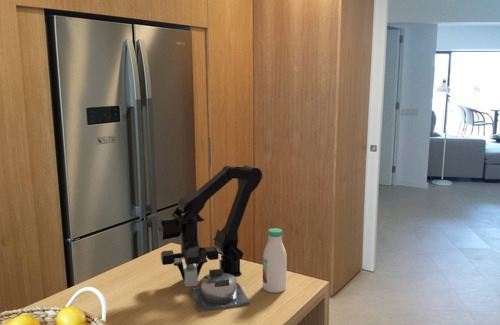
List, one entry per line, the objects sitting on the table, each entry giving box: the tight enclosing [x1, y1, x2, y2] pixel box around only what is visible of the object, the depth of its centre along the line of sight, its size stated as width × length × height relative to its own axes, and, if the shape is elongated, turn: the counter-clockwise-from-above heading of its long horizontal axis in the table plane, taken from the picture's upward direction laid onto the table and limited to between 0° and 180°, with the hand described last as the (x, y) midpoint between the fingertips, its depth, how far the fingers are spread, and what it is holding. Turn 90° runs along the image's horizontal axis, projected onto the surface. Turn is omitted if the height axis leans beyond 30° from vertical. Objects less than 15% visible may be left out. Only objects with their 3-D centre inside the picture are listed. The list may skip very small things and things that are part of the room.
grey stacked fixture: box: [190, 268, 251, 313], centre depth 144 cm, size 16×14×8 cm
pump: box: [183, 263, 199, 287], centre depth 156 cm, size 4×6×6 cm, turn 16°
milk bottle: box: [262, 227, 288, 294], centre depth 150 cm, size 8×8×20 cm
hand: (190, 279), depth 156 cm, fingers closed on pump, 4 cm apart
